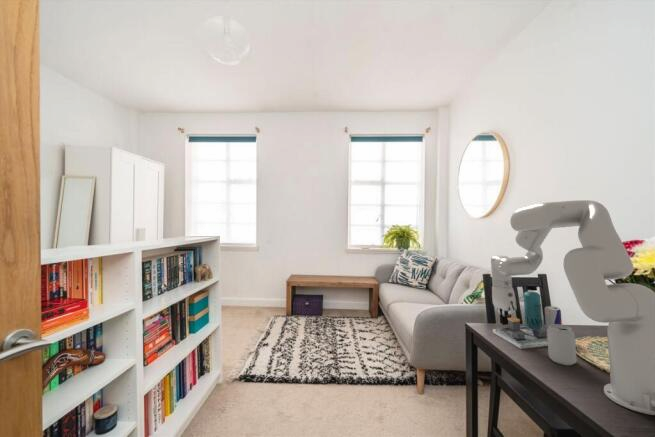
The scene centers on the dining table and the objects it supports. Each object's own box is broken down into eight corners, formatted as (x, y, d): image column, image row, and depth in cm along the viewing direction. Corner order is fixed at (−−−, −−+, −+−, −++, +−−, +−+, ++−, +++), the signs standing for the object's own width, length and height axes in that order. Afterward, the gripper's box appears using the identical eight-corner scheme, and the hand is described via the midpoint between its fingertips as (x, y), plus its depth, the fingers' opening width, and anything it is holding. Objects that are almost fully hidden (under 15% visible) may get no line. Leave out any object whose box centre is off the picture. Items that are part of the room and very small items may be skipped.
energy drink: (566, 339, 114) (564, 309, 114) (552, 339, 114) (550, 310, 114) (555, 334, 120) (553, 305, 120) (543, 334, 120) (541, 306, 120)
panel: (555, 345, 110) (554, 333, 110) (520, 348, 109) (519, 337, 109) (523, 329, 126) (522, 319, 126) (492, 332, 125) (492, 322, 125)
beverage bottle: (521, 329, 127) (518, 284, 127) (530, 325, 129) (527, 282, 130) (537, 333, 121) (534, 287, 121) (546, 330, 124) (543, 284, 124)
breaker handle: (520, 331, 120) (519, 319, 120) (513, 332, 120) (512, 320, 120) (515, 328, 123) (514, 317, 123) (508, 329, 123) (507, 317, 123)
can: (564, 368, 94) (562, 332, 94) (543, 357, 101) (541, 324, 101) (582, 364, 95) (580, 329, 95) (560, 354, 103) (558, 321, 103)
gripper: (522, 286, 120) (525, 329, 120) (498, 279, 135) (501, 317, 135) (505, 287, 120) (508, 331, 119) (483, 280, 134) (486, 319, 134)
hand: (504, 323), depth 127 cm, fingers closed
